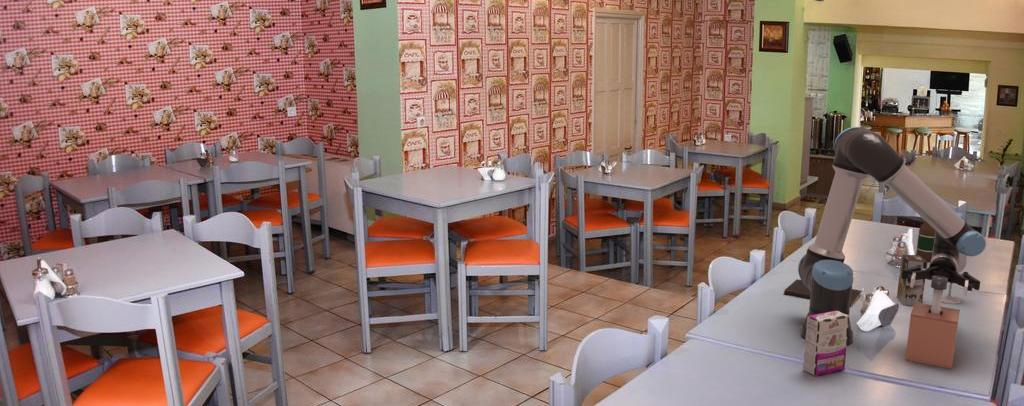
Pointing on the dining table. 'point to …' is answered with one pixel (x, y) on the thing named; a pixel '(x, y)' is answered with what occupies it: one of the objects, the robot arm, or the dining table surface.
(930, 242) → the beer bottle
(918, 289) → the coffee box
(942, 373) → the dining table surface
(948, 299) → the wineglass
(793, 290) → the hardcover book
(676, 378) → the dining table surface
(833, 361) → the candy bar box
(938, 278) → the pump plunger
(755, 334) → the dining table surface
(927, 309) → the slotted cardboard box
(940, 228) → the robot arm
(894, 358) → the dining table surface
